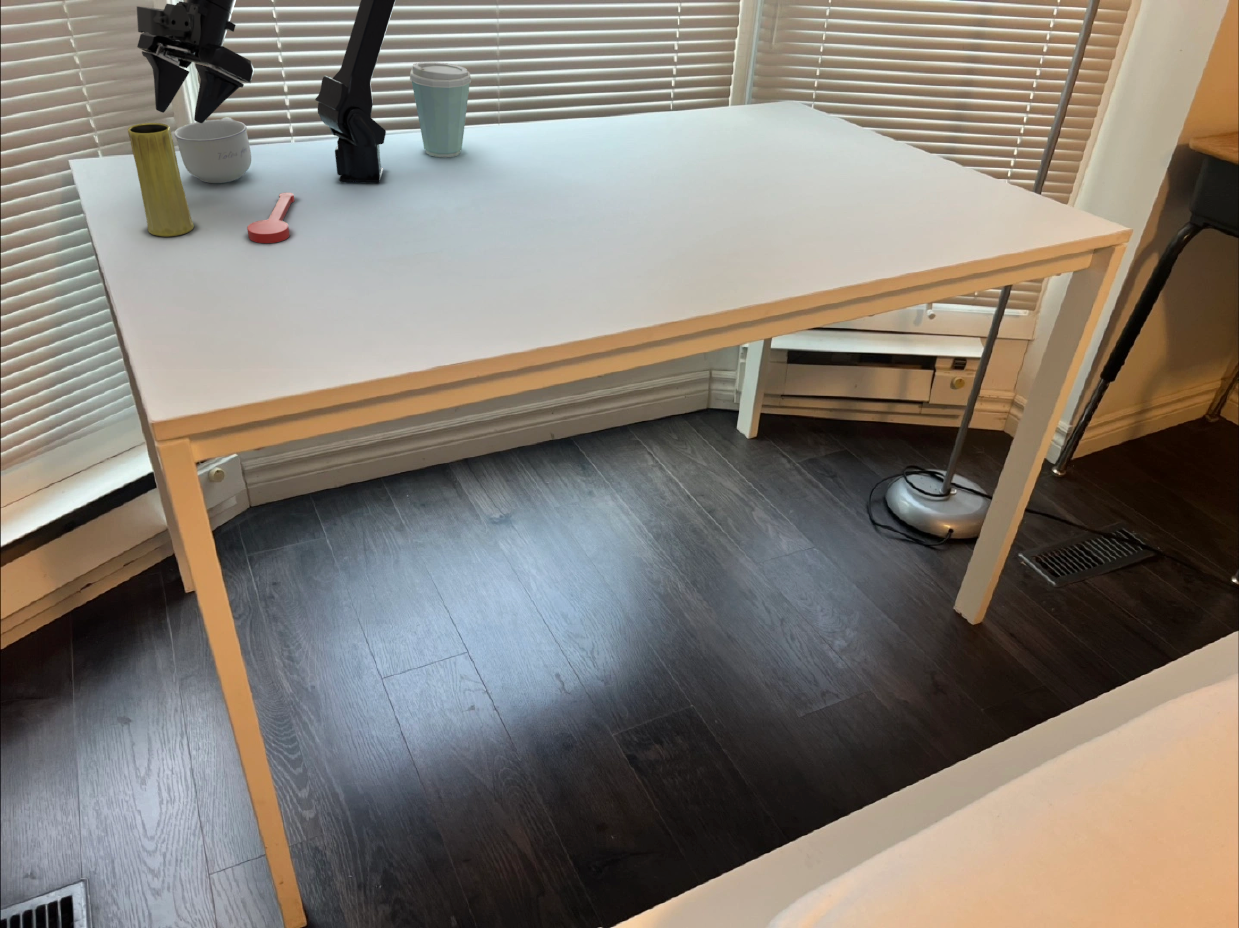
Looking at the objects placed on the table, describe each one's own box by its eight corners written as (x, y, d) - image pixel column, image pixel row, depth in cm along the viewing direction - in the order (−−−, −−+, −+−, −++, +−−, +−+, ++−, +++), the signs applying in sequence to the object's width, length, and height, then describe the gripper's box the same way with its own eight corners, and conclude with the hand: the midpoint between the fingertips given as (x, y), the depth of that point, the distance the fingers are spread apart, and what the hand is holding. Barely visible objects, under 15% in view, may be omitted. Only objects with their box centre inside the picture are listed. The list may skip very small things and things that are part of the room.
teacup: (232, 191, 150) (223, 140, 146) (170, 183, 152) (158, 132, 147) (276, 165, 162) (268, 116, 157) (217, 158, 163) (208, 109, 158)
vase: (203, 226, 138) (183, 126, 130) (170, 240, 134) (147, 137, 125) (171, 218, 140) (149, 118, 132) (138, 231, 136) (113, 129, 127)
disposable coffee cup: (443, 139, 178) (439, 54, 169) (486, 152, 173) (484, 65, 165) (401, 152, 171) (395, 63, 162) (445, 166, 166) (440, 75, 157)
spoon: (306, 198, 150) (305, 189, 149) (286, 243, 135) (284, 234, 134) (270, 198, 149) (268, 189, 148) (244, 243, 134) (243, 233, 134)
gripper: (116, -31, 129) (86, 82, 131) (198, -18, 120) (164, 104, 122) (189, 9, 138) (160, 114, 140) (270, 23, 129) (237, 136, 131)
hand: (178, 116), depth 133 cm, fingers open, 9 cm apart
